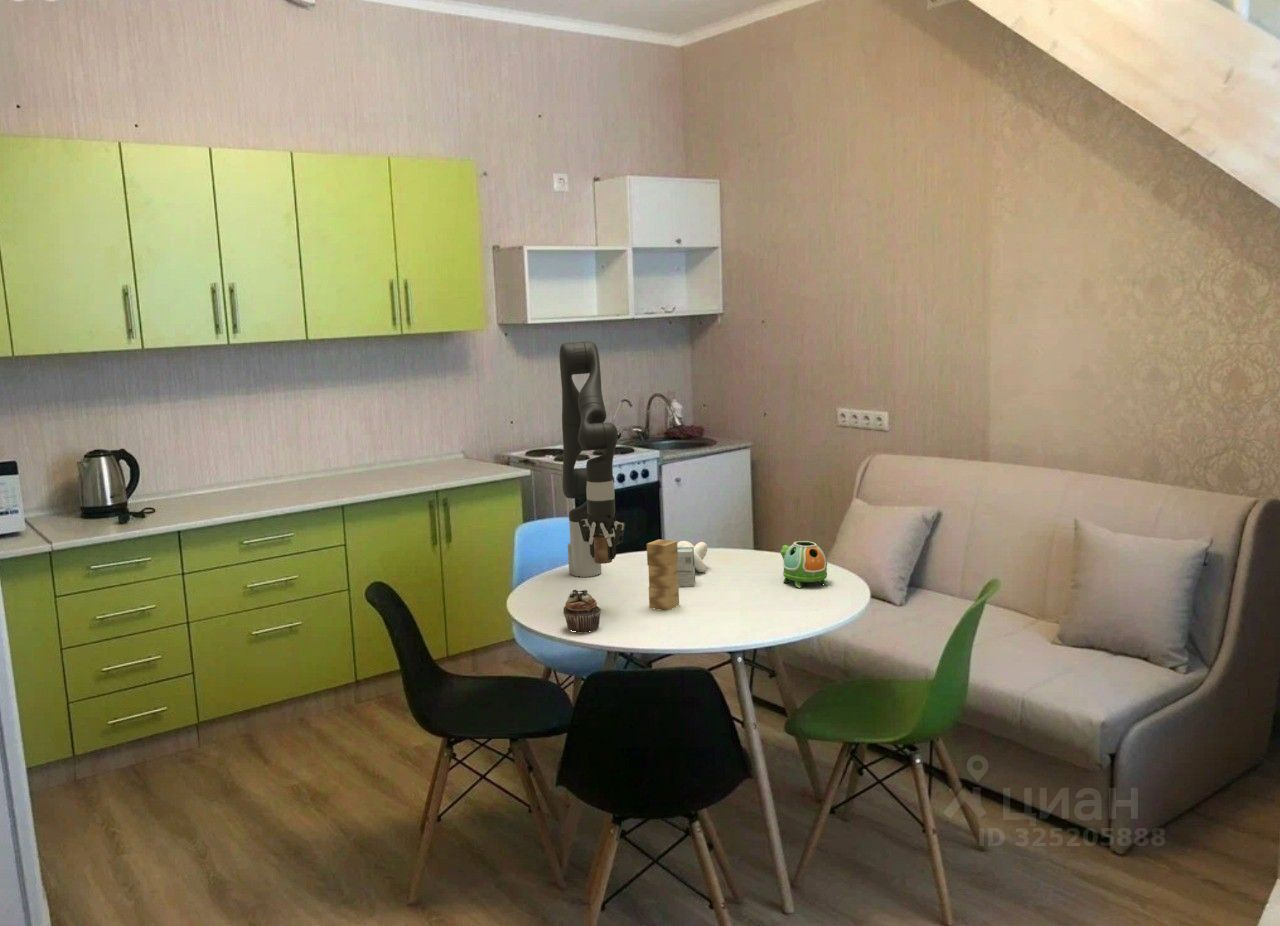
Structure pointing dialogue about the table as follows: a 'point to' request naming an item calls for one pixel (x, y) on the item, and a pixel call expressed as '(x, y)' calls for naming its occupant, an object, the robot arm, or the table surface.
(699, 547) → the white knot sculpture
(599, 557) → the walnut cylinder
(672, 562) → the tower top
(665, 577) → the tower mid
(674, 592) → the tower base
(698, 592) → the table surface
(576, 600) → the cupcake
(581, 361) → the robot arm
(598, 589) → the table surface
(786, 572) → the turtle holder
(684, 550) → the light bulb box
